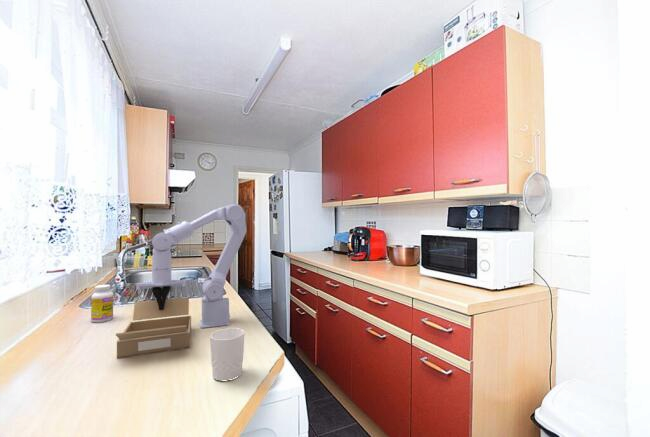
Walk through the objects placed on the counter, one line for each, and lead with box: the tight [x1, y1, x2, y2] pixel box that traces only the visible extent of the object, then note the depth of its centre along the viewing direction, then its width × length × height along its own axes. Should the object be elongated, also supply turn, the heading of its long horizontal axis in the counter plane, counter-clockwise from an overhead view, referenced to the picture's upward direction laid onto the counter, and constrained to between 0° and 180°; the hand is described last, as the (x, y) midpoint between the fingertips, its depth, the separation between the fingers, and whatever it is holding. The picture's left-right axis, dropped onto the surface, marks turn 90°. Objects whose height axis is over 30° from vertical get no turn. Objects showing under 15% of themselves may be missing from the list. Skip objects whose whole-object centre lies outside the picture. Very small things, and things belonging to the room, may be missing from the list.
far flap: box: [132, 296, 190, 322], centre depth 103 cm, size 16×6×1 cm
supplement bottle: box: [90, 284, 114, 324], centre depth 114 cm, size 7×7×13 cm
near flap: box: [115, 325, 187, 340], centre depth 84 cm, size 16×6×1 cm
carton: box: [116, 315, 192, 359], centre depth 94 cm, size 18×17×4 cm
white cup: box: [209, 327, 245, 380], centre depth 74 cm, size 8×8×10 cm
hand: (161, 309), depth 102 cm, fingers closed, pressing on far flap
